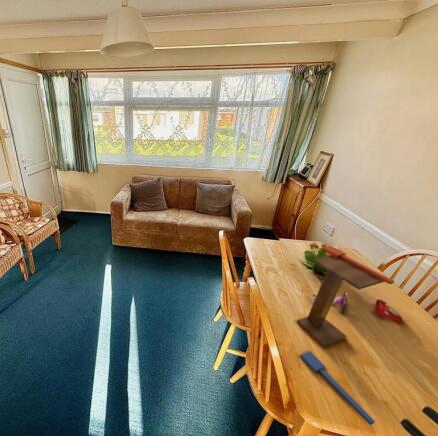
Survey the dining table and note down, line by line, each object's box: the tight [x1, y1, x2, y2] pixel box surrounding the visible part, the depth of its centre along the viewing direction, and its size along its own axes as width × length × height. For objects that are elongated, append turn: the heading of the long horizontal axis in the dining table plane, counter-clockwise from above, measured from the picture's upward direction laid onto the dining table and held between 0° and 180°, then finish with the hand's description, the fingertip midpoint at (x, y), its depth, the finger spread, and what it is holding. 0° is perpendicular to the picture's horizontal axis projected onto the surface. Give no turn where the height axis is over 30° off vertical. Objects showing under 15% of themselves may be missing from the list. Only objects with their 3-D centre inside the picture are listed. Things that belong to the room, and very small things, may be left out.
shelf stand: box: [296, 255, 385, 348], centre depth 88 cm, size 16×14×32 cm
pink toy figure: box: [332, 290, 349, 315], centre depth 106 cm, size 7×5×9 cm
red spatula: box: [321, 245, 395, 285], centre depth 83 cm, size 22×4×1 cm, turn 17°
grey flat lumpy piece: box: [309, 294, 317, 304], centre depth 109 cm, size 7×8×2 cm
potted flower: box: [298, 242, 342, 280], centre depth 123 cm, size 25×24×18 cm
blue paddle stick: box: [299, 350, 376, 426], centre depth 76 cm, size 22×4×1 cm, turn 17°
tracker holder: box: [373, 297, 404, 324], centre depth 102 cm, size 12×4×10 cm
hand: (413, 414), depth 57 cm, fingers open, 8 cm apart
